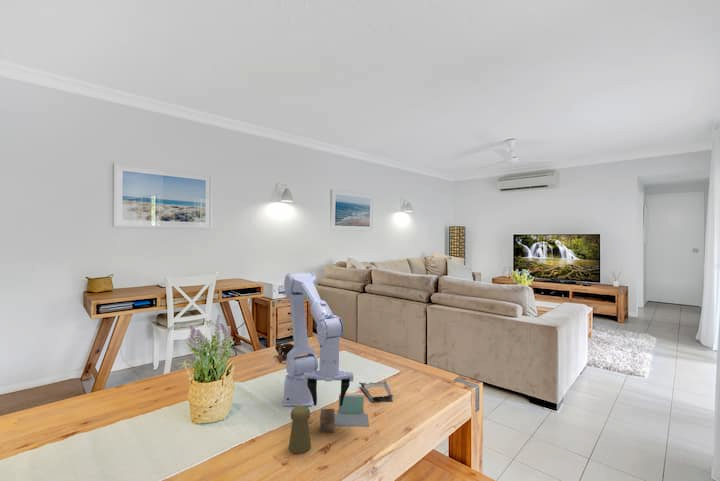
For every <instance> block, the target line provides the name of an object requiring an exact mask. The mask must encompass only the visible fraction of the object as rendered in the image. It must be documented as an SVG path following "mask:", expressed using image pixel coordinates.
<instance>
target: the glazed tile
mask: <svg viewBox="0 0 720 481" xmlns="http://www.w3.org/2000/svg"><path fill="white" fill-rule="evenodd" d="M364 393H365V392H346V394H345V396H344V399H343V404H342V406H340V396H341V392H338V414H364V397H365V394H364Z"/></svg>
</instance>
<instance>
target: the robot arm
mask: <svg viewBox="0 0 720 481" xmlns="http://www.w3.org/2000/svg"><path fill="white" fill-rule="evenodd" d="M283 284H284V285H283V286H284V295H285V298H286V299H289V303H290V304H289V305H290V315H291V316H290V317H291V327H292V339H293V345H294V347H293V349H292V350H291V351H290V352H289V353H288V354H287V360H286V361H285V362H286V363H285V364H286V366H285V369H286V373H287V375H285V379H284V384H283V385H284V389H283V406H284V407H296V406H300V405H302V406H306V407H312V406H317V402H318V392H317V389H318V387H317V385H318V381H324V382H333V381H340V393H341V396H340V406H342V404H343V399H344V396H345V394H346V393H347V391H348V389H349V387H350V384H351V383H350V382H354V372H349V371H344V370H343V371H341V370H339V369H340V365H339V363H340V338H341V337H342V336H343V335H344V323H343V320H342V318H341V317H340V316H337V315H336V314H334V313H333V311H332V310H331V308H330V307H329V305H328V303H327V301H326V300H323V299H321V296H320V295H319V292H318V290H317V277H316V275H315V273H314V272H312V271H311V272H299V273H298V272H297V273H296V272H294V273H289V272H288V273H286V275H285V277H284V281H283ZM305 300H307V301H308V304H309V305H310V307H309V312H310V313H311V316H312V318H313V319H314V321H315V324H316V325H317V326H316V332H317V338H318V339H317V343H318V344H319V359H318V357H317V352H316V349H314V347H311V346H310V345H309V339H308V329H307V328H308V327H307V316H306V307H305V306H306V305H305ZM318 369H319V370H318Z"/></svg>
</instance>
